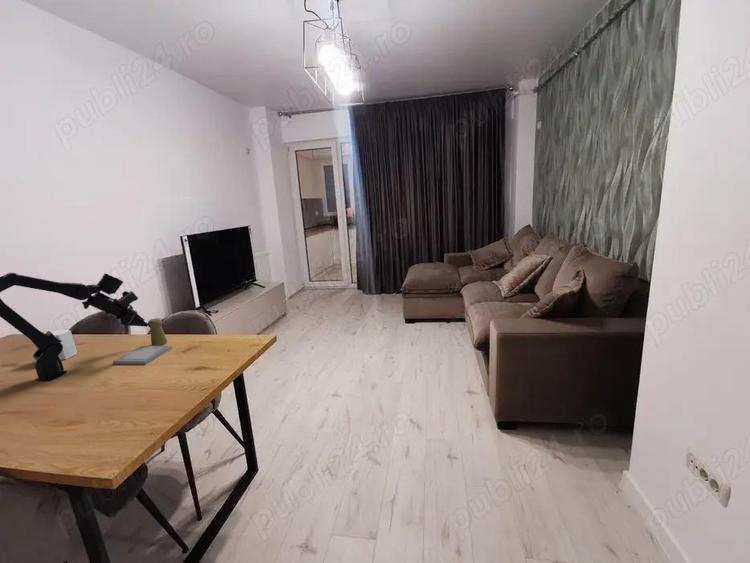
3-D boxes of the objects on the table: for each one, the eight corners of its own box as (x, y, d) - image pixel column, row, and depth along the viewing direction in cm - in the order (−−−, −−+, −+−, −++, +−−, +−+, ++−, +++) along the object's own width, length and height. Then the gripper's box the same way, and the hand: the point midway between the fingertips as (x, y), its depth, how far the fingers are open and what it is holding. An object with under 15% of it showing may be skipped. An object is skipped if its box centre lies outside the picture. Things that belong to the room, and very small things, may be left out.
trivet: (146, 364, 135) (145, 360, 135) (113, 364, 138) (112, 360, 138) (172, 348, 149) (171, 345, 149) (142, 348, 151) (141, 345, 151)
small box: (78, 353, 151) (71, 330, 149) (65, 359, 146) (58, 335, 143) (60, 354, 152) (53, 330, 150) (47, 360, 147) (40, 335, 144)
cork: (152, 343, 157) (146, 318, 154) (168, 339, 159) (162, 315, 157) (150, 347, 152) (144, 322, 149) (167, 344, 154) (161, 319, 151)
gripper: (123, 290, 137) (163, 310, 146) (117, 283, 151) (153, 302, 160) (103, 315, 134) (145, 334, 143) (99, 306, 148) (137, 324, 157)
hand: (145, 323), depth 151 cm, fingers open, 9 cm apart
